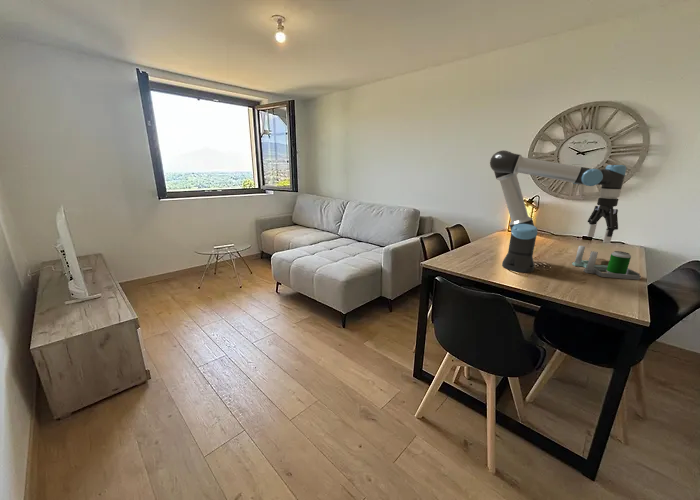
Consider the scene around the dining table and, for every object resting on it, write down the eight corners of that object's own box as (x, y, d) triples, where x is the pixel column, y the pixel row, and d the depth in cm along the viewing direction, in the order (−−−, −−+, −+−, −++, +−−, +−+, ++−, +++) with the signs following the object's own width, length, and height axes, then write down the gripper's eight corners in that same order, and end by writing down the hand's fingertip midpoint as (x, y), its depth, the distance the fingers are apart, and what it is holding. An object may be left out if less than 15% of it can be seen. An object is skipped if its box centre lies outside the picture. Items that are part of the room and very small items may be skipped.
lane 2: (591, 276, 147) (596, 255, 144) (578, 268, 158) (583, 248, 155) (639, 279, 143) (646, 258, 140) (623, 271, 154) (629, 251, 151)
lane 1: (577, 267, 159) (582, 248, 156) (569, 262, 168) (573, 244, 165) (621, 270, 155) (627, 250, 152) (610, 265, 164) (616, 246, 161)
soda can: (628, 277, 146) (635, 255, 142) (611, 276, 147) (618, 254, 144) (618, 272, 153) (625, 251, 149) (602, 271, 154) (608, 250, 151)
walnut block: (599, 268, 159) (601, 261, 158) (593, 266, 163) (595, 258, 162) (607, 268, 159) (610, 261, 158) (601, 266, 163) (603, 258, 162)
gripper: (636, 200, 129) (623, 246, 135) (601, 195, 152) (592, 234, 158) (616, 200, 130) (604, 245, 136) (585, 195, 154) (576, 234, 160)
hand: (597, 239), depth 147 cm, fingers open, 13 cm apart
